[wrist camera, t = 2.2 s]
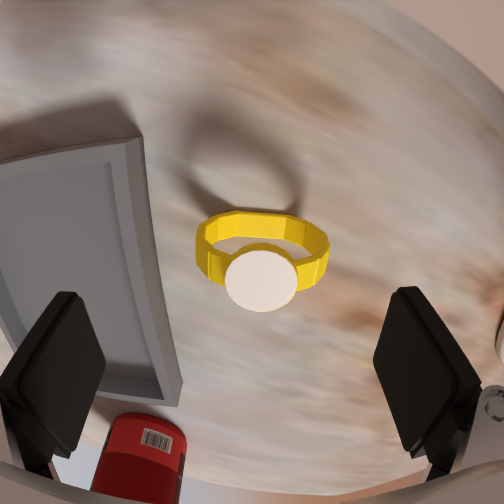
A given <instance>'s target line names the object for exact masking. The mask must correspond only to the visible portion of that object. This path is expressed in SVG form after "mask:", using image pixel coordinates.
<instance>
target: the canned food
mask: <svg viewBox="0 0 504 504" xmlns="http://www.w3.org/2000/svg"><path fill="white" fill-rule="evenodd" d="M186 450H187V443H186V438H185V435H184V434H183V433H182V432H181V431H180V430H179V429H178V428H177V427H175V426H174V425H172V424H171V423H169V422H167V421H164V420H162V419H160V418H157V417H154V416H150V415H146V414H139V413H126V414H122V415H119V416H118V417H117V418H116V419H115V420H114V421H113V423H112V424H111V426H110V429H109V432H108V435H107V438H106V441H105V444H104V447H103V450H102V453H101V456H100V459H99V462H98V465H97V468H96V471H95V475H94V478H93V481H92V484H91V488H90V491H92V492H96V493H100V494H104V495H109V496H113V497H118V498H123V499H128V500H133V501H139V502H145V503H151V504H178V503H179V497H180V490H181V483H182V476H183V470H184V463H185V456H186Z"/></svg>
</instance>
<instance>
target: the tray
mask: <svg viewBox="0 0 504 504" xmlns="http://www.w3.org/2000/svg"><path fill="white" fill-rule="evenodd" d="M59 291H72V292H76V293H77V294H78V296H80V297H81V298H82V299H83V301H84V304H85V307H86V310H87V312H88V315H89V318H90V321H91V323H92V326H93V329H94V331H95V334H96V337H97V339H98V342H99V344H100V347H101V349H102V352H103V354H104V356H105V359H106V368H105V371H104V373H103V376H102V378H101V381H100V383H99V386H98V389H97V391H96V394H95V396H99V397H104V398H110V399H116V400H122V401H129V402H136V403H143V404H151V405H160V406H170V407H178V402H179V397H180V393H181V388H182V384H183V381H182V377H181V373H180V369H179V365H178V360H177V356H176V352H175V347H174V343H173V338H172V334H171V329H170V324H169V319H168V314H167V309H166V304H165V299H164V294H163V288H162V283H161V277H160V271H159V265H158V259H157V253H156V246H155V239H154V232H153V225H152V218H151V210H150V202H149V194H148V185H147V175H146V165H145V154H144V142H143V136H138V137H129V138H120V139H113V140H105V141H98V142H92V143H85V144H79V145H73V146H68V147H62V148H57V149H52V150H46V151H42V152H37V153H32V154H28V155H23V156H19V157H15V158H11V159H7V160H3V161H0V327H1V329H2V331H3V333H4V335H5V337H6V339H7V341H8V343H9V344H10V346H11V348H12V350H13V352H14V354H15V352H16V351H17V349H18V348H19V346H20V345H21V343H22V342H23V340H24V339H25V337H26V336H27V334H28V333H29V331H30V330H31V328H32V327H33V325H34V324H35V323H36V321H37V320H38V318H39V317H40V315H41V314H42V313H43V311H44V310H45V309H46V307H47V306H48V304H49V303H50V302H51V300H52V299H53V298H54V296H55V295H56V294H57V293H58V292H59Z"/></svg>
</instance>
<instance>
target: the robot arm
mask: <svg viewBox="0 0 504 504" xmlns="http://www.w3.org/2000/svg"><path fill="white" fill-rule="evenodd" d="M496 352H497V356H498V357H499V359H500V361H501V362H502V364H503V365H504V320H503V322H502V325H501V328H500V331H499V333H498V338H497V342H496ZM373 364H374V368H375V370H376V373H377V375H378V378H379V381H380V383H381V386H382V389H383V391H384V394H385V397H386V399H387V402H388V405H389V408H390V410H391V413H392V416H393V419H394V422H395V424H396V427H397V430H398V433H399V436H400V439H401V442H402V445H403V448H404V449H405V451H409V452H410V455H411V458H412V459H414V458H417V457H421V456H424V455H427V458H428V461H429V463H428V466H427V468H426V470H425V473H424V475H423V477H422V479H421V481H420V483H419V484H417V485H414V486H411V487H407V488H403V489H399V490H396V491H391V492H388V493H383V494H379V495H375V496H371V497H367V498H361V499H357V500H351V501H345V502H340V503H333V504H504V387H503V386H499V385H490V386H488V387H486V388H485V389H484V390H482V388H481V386H480V384H481V383H482V382H481V380H480V378H479V377H478V375H477V373H476V372H475V370H474V368H473V367H472V365H471V364H470V362H469V360H468V359H467V357H466V356H465V354H464V353H463V351H462V349H461V348H460V346H459V345H458V343H457V342H456V340H455V339H454V337H453V336H452V334H451V333H450V331H449V330H448V328H447V327H446V325H445V324H444V322H443V321H442V320H441V318H440V317H439V315H438V314H437V312H436V311H435V310H434V308H433V307H432V305H431V304H430V303H429V301H428V300H427V299H426V297H425V296H424V294H423V293H422V292H421V290H420V289H419V288H418V287H417V286H409V287H400V288H398V289H397V291H396V292H394V293H393V294H392V296H391V300H390V303H389V307H388V310H387V314H386V317H385V321H384V324H383V328H382V331H381V334H380V337H379V341H378V344H377V347H376V350H375V353H374V356H373ZM105 368H106V359H105V356H104V354H103V352H102V349H101V347H100V344H99V342H98V339H97V337H96V334H95V331H94V329H93V326H92V323H91V321H90V318H89V315H88V312H87V310H86V307H85V304H84V301H83V299H82V298H81V297H80V296H78V294H77V293H76V292H72V291H59V292H58V293H57V294H56V295H55V296H54V298H53V299H52V300H51V302H50V303H49V304H48V306H47V307H46V309H45V310H44V311H43V313H42V314H41V315H40V317H39V318H38V320H37V321H36V323H35V324H34V325H33V327H32V328H31V330H30V331H29V333H28V334H27V336H26V337H25V339H24V340H23V342H22V343H21V345H20V346H19V348H18V349H17V351H16V352H15V354H14V355H13V357H12V359H11V360H10V362H9V363H8V365H7V367H6V368H5V370H4V371H3V373H2V375H1V376H0V504H151V503H145V502H139V501H133V500H128V499H123V498H118V497H113V496H109V495H104V494H100V493H96V492H92V491H88V490H85V489H81V488H78V487H74V486H71V485H68V484H64V483H61V481H60V479H59V477H58V474H57V472H56V470H55V467H54V465H53V462H52V456H53V454H55V455H57V456H60V457H63V458H67V459H69V457H70V455H71V451H72V452H73V451H75V449H76V447H77V445H78V442H79V439H80V436H81V433H82V430H83V427H84V424H85V421H86V418H87V416H88V413H89V410H90V407H91V405H92V402H93V399H94V397H95V394H96V391H97V389H98V386H99V383H100V381H101V378H102V376H103V373H104V371H105Z"/></svg>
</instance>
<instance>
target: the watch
mask: <svg viewBox="0 0 504 504" xmlns="http://www.w3.org/2000/svg"><path fill="white" fill-rule="evenodd" d="M235 236H244V237H259V238H274V239H284V240H287V241H289V242H292V243H294V244H297V245H299V246H301V247H304V248H305V249H306V250H307V251H308V252H309V253H311V254H312V255H313V256H310V257H306V258H302V259H298V260H293V258H292V257H291V256H290V255H289V254H288V253H287V251H285V250H284V249H282V248H280V247H278V246H276V245H273V244H268V243H253V244H250V245H247V246H244V247H242V248H241V249H239V250H238V251H237V252H236V253H234V254H233V255H230V254H228V253H225V252H222V251H219V250H217V249H215V248H214V247H213V246H212V245H213V244H214V243H215V242H217V241H220V240H224V239H227V238H231V237H235ZM329 251H330V244H329V241H328V238H327V235H326V234H325V233H324V232H323V231H322V230H320V229H319V228H318V227H316V226H315V225H314V224H312V223H309V221H306V220H303V219H301V218H298V217H295V216H292V215H285V214H272V213H258V212H243V211H240V210H237V211H231V212H226V213H222V214H217V215H215V216H212V217H211V218H209V219H207V220H206V221H204V222H203V223H201V224H200V225H199V226H198V229H197V234H196V263H197V266H198V267H199V268H200V269H201V270H202V272H203V273H204V274H205V275H206V276H207V278H209V279H211V281H213V282H216V283H218V284H220V285H222V286H225V287H226V290H227V292H228V294H229V296H230V297H231V299H232V300H233V301H235V302H236V303H237V304H238V305H239V306H241V307H243V308H245V309H247V310H251V311H256V312H269V311H273V310H276V309H279V308H281V307H282V306H284V305H286V304H287V303H288V302H289V301H290V300H291V299H292V298H293V296H294V295H295V293H296V292H297V291H300V290H303V289H307V288H310V287H312V286H313V285H315V284H316V283H317V282H318V281H319V279H320V278H321V277H322V276H323V275H324V273H325V271H326V266H327V261H328V256H329Z"/></svg>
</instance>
